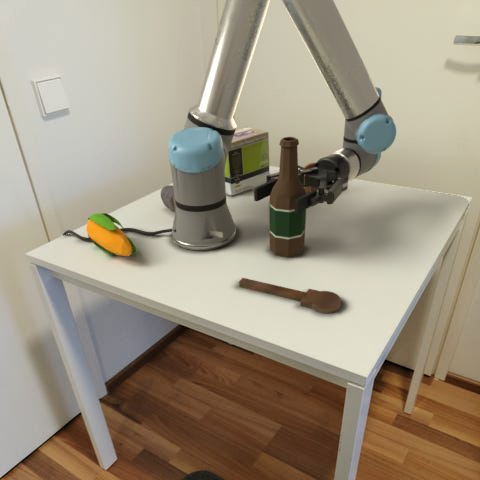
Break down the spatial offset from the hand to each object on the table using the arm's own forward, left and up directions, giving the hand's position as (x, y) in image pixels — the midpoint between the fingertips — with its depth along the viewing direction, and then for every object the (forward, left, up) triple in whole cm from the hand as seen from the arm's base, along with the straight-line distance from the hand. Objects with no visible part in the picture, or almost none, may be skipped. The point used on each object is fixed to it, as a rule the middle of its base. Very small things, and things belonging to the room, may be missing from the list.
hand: (275, 200), depth 91 cm
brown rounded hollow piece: (-7, +41, -13) cm, 44 cm away
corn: (-36, -11, -13) cm, 40 cm away
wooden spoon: (+9, -13, -13) cm, 20 cm away
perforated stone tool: (-34, +13, -13) cm, 39 cm away
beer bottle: (+1, +4, -13) cm, 14 cm away
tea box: (-27, +36, -13) cm, 47 cm away
